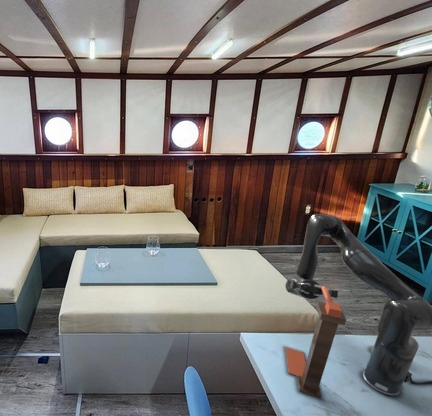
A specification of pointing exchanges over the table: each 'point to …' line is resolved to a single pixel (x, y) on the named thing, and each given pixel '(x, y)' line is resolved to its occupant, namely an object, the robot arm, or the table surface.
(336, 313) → the orange toy mallet
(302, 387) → the wooden square pillar
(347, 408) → the table surface
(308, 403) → the table surface
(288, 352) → the terracotta mat
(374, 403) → the table surface
